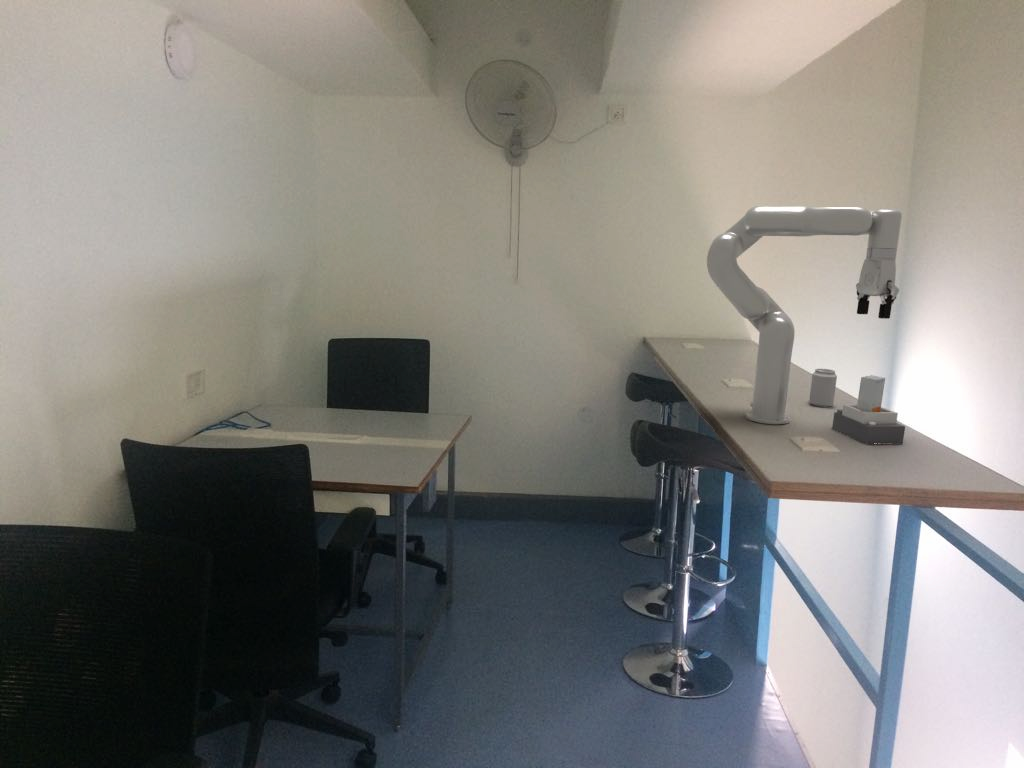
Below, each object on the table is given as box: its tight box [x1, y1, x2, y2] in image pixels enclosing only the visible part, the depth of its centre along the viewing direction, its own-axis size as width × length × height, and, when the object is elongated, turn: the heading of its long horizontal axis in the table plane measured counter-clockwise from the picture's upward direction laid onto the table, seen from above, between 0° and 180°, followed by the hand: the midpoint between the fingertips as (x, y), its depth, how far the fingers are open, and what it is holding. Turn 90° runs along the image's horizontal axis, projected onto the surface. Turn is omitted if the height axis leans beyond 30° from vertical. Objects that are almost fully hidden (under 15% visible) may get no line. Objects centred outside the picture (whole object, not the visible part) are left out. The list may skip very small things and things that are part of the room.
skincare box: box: [856, 374, 886, 412], centre depth 210 cm, size 6×4×12 cm
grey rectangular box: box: [831, 404, 906, 445], centre depth 211 cm, size 16×11×8 cm
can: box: [808, 368, 838, 408], centre depth 248 cm, size 8×8×12 cm
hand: (872, 316), depth 212 cm, fingers open, 9 cm apart
